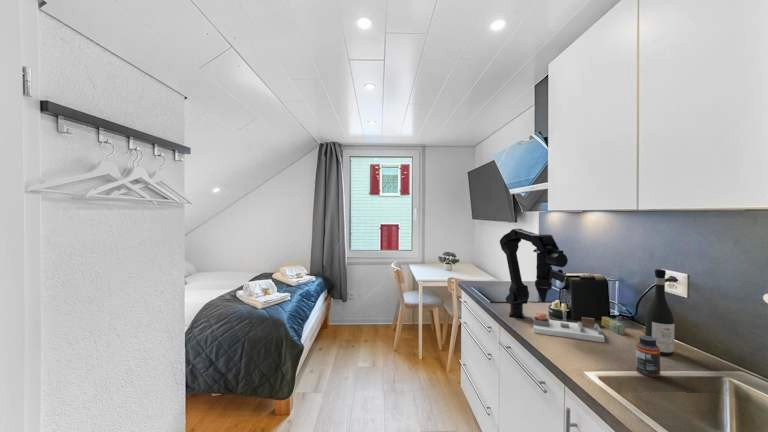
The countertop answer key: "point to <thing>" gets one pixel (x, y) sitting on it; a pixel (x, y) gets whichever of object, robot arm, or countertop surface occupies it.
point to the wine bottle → (660, 317)
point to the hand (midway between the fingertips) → (543, 299)
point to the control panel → (568, 330)
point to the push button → (541, 316)
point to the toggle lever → (564, 315)
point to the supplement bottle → (648, 357)
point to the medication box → (613, 325)
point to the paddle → (588, 322)
